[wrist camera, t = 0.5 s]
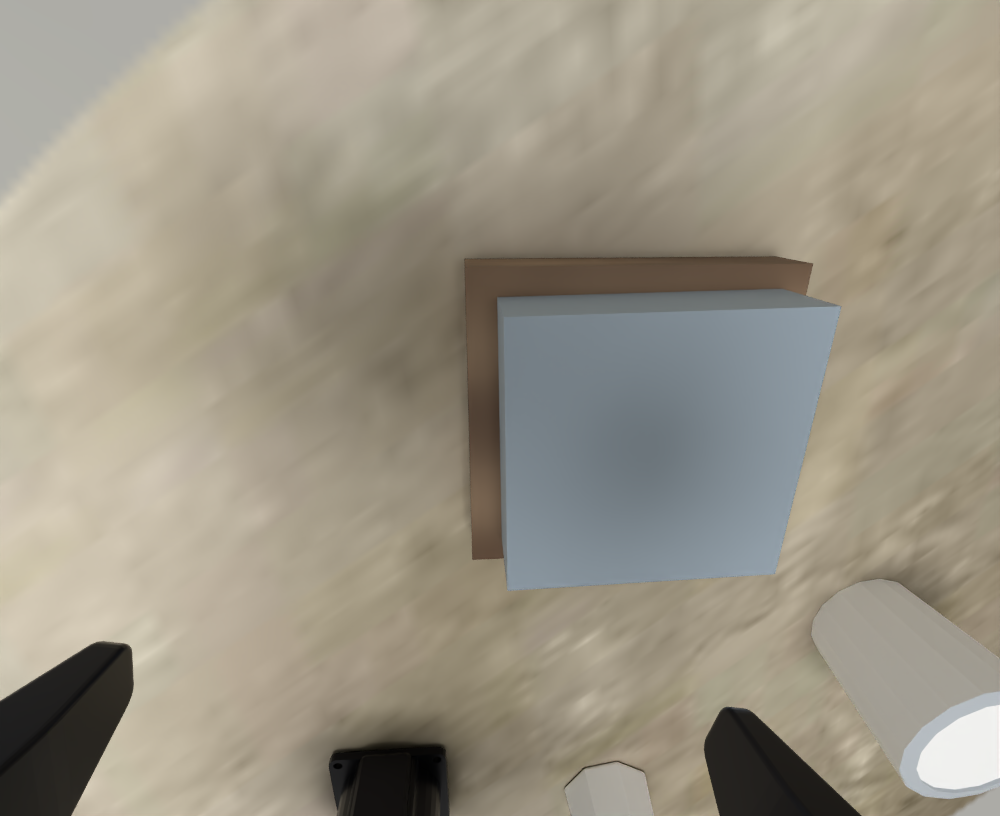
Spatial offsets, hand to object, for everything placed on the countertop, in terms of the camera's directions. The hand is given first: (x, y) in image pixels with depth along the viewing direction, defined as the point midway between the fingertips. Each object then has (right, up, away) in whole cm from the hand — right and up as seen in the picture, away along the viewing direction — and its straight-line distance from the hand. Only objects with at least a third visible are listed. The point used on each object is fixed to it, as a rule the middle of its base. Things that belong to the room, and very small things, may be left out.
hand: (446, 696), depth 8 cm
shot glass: (+20, -7, +20) cm, 29 cm away
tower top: (+6, +4, +12) cm, 14 cm away
